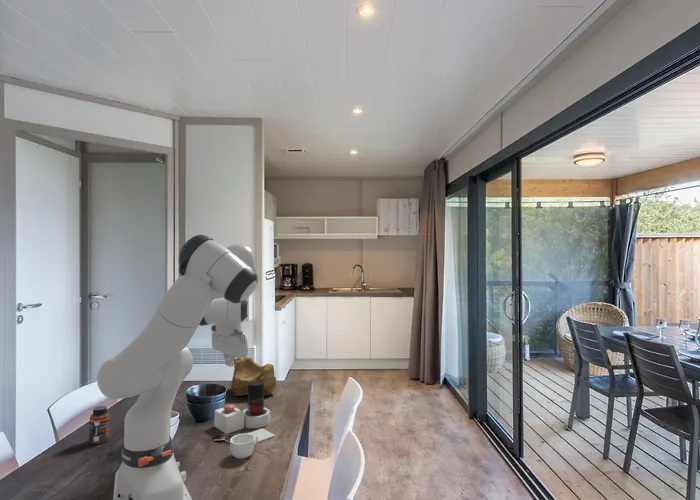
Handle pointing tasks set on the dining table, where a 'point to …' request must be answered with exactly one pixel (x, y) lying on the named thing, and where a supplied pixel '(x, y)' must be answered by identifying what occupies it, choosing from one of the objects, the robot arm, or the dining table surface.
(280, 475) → the dining table surface
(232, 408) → the plunger
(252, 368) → the rough brown rock
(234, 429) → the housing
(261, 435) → the pad
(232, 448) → the teacup
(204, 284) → the robot arm
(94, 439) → the supplement bottle
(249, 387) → the deodorant
